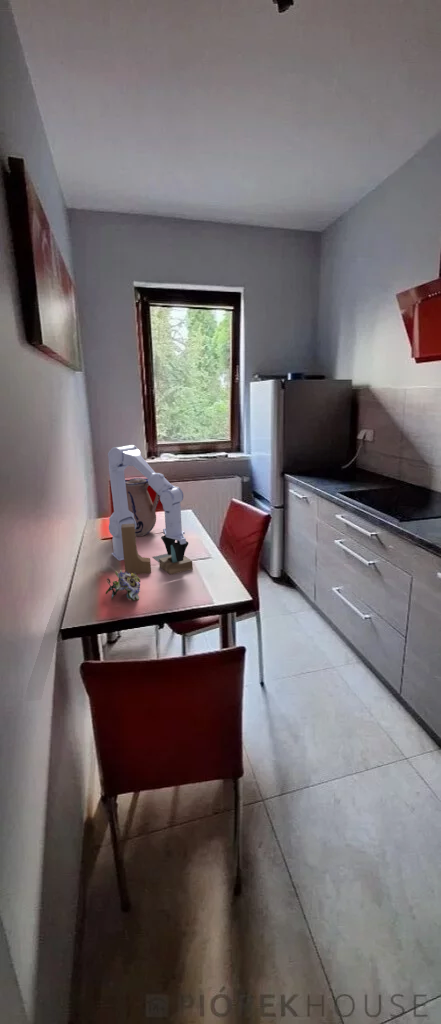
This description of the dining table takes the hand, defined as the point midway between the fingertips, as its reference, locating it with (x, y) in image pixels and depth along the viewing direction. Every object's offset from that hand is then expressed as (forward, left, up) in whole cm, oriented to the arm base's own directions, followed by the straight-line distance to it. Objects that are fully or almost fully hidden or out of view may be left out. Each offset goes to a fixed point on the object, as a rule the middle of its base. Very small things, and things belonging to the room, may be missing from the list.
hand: (175, 557), depth 154 cm
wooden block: (-5, -13, -5) cm, 14 cm away
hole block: (0, 0, -4) cm, 4 cm away
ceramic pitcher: (-46, +5, -5) cm, 46 cm away
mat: (-11, +1, -4) cm, 12 cm away
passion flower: (+12, -24, -5) cm, 27 cm away
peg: (0, 0, -4) cm, 4 cm away
